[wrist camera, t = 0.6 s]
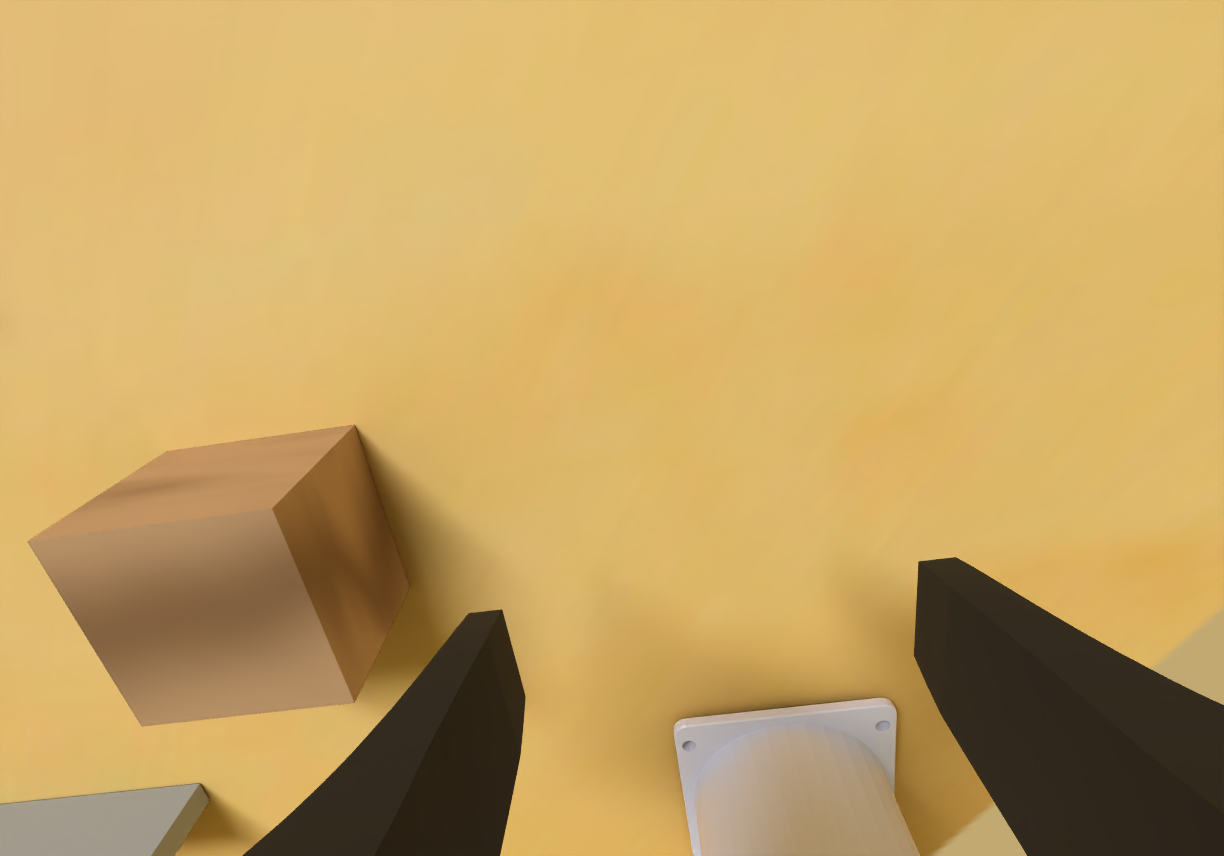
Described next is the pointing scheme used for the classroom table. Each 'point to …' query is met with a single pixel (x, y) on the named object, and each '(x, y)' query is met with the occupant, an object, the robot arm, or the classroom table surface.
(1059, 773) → the robot arm
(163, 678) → the walnut block
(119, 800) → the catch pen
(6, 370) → the classroom table surface
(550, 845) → the classroom table surface
